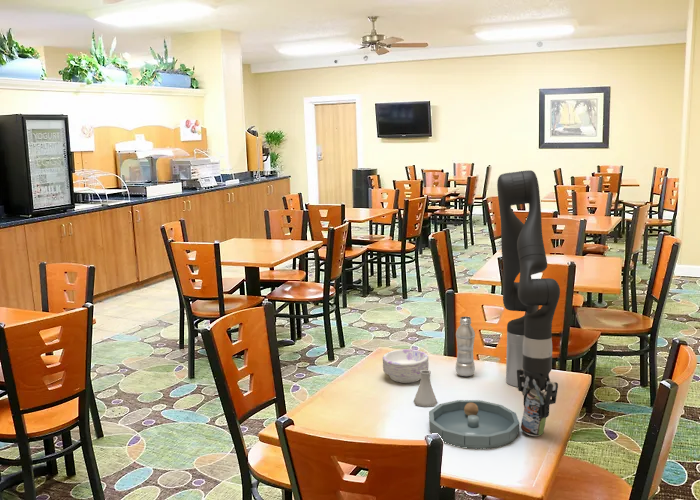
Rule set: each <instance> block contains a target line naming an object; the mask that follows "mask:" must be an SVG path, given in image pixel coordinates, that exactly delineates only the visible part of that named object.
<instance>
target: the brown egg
mask: <svg viewBox="0 0 700 500" xmlns="http://www.w3.org/2000/svg"><path fill="white" fill-rule="evenodd" d="M464 412H465V414H466V415H467V416H469V415H477V413H478V406H477V405H476V404H475V403H472V402H470V403H467V404H466V405H465V407H464Z"/></svg>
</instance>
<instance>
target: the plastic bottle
mask: <svg viewBox="0 0 700 500" xmlns="http://www.w3.org/2000/svg"><path fill="white" fill-rule="evenodd" d="M459 324H460V325H458V327H457V329H456V332H455V338H456V347H457V348H456V349H457V353H456V355H457V356H456V361H455V362H456V363H455V372H456V375H457V376H460V377H471V376H473V375H474V373H475V370H476V365H475V360H474V358H475V357H474V344H475V338H476V333H475V329H474V327H473V326H472V325H471V324H472V317H470V316H461V317H460V319H459Z"/></svg>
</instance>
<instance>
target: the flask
mask: <svg viewBox="0 0 700 500" xmlns="http://www.w3.org/2000/svg"><path fill="white" fill-rule="evenodd" d="M420 373H421V379H420V382H419V385H418V388H417V391H416V394H415V397H414V399H413V403H414V405H415V406H418V407H424V408H425V407H426V408H427V407H434V406H435V405H437V404H438V400H437V398H436V395H435V393H434V389H433V386H432V382H431V377H430V376H431V370H430V369H428V370H421V371H420Z"/></svg>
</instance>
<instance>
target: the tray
mask: <svg viewBox="0 0 700 500" xmlns="http://www.w3.org/2000/svg"><path fill="white" fill-rule="evenodd" d="M470 402H472V403H475V404H476V405H477V406H478V413H477V415H469V416H467V415H466V414H465V412H464V407H465V405H466V404H467V403H470ZM428 415H429V416H428V423H429V427H428V428H429V432H430V434H431V433H438V434H439V435H440V436H441V438H442V439H443V441H444V442H443V443H445V442H446V443H445V444H447V443H449V444H448V445H450V444H452V445H451V446H453V445H455V446H454V447H457V446H460V447H459V448H462V447H467V448H466V449H469V448H477V449H476V450H484V449H483V448H486V449H487V448H490V449H497V448H500V446H501V447H504V446H506V445H509V444H511V443H512V442H513V441H515V440H516V439H517V437H518V435H519V434H518V433H519V432H520V421H519V417H518V416H517V413H516V412H515V411H513V410H511V409H509V408H508V407H506V406H504V405H502V404H499V403H494V402H490V401H485V400H479V399H475V400H473V399H472V400H471V399H470V400H469V399H457V400H452V401H447V402H443V403H440V404H438V405H437V406H435V407H434V408H432V409H431V410H429V411H428ZM478 448H479V449H478ZM480 448H482V449H480ZM486 449H485V450H486ZM487 450H488V449H487Z"/></svg>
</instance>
